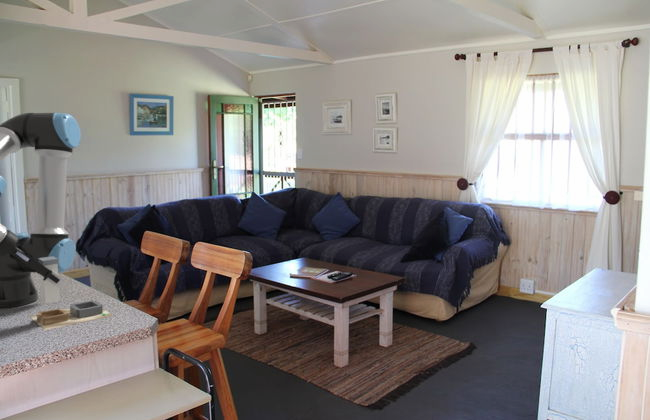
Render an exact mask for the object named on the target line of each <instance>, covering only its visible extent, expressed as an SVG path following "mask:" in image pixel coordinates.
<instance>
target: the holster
mask: <svg viewBox="0 0 650 420" xmlns="http://www.w3.org/2000/svg"><path fill="white" fill-rule="evenodd" d="M36 315H37V320H38V321H39V322H40V323H41V324H42V325H49V324H54V323H59V322H63V321H68V319H69V317H68V312H66V311H65V310H64V309H63V308H55V309H49V310H44V311H39V312H37V313H36Z"/></svg>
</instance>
